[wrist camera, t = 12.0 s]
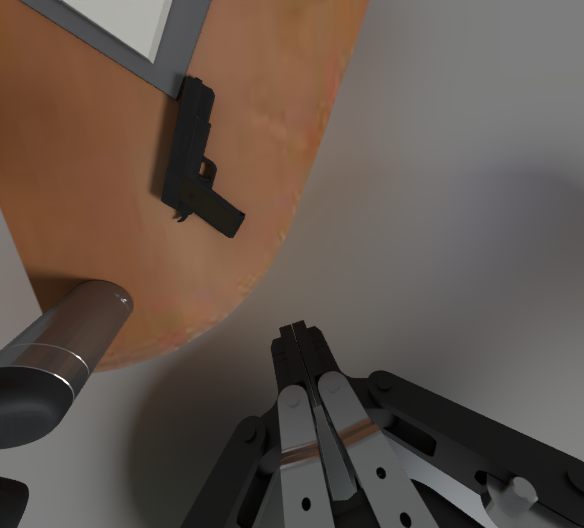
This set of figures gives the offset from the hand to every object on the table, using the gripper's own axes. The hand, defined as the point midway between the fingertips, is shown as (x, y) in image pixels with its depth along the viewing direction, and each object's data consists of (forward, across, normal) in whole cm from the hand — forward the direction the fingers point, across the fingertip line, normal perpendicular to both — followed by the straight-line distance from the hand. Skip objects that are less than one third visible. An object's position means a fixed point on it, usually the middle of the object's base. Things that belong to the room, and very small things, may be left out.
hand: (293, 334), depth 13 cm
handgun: (+30, +4, -8) cm, 31 cm away
